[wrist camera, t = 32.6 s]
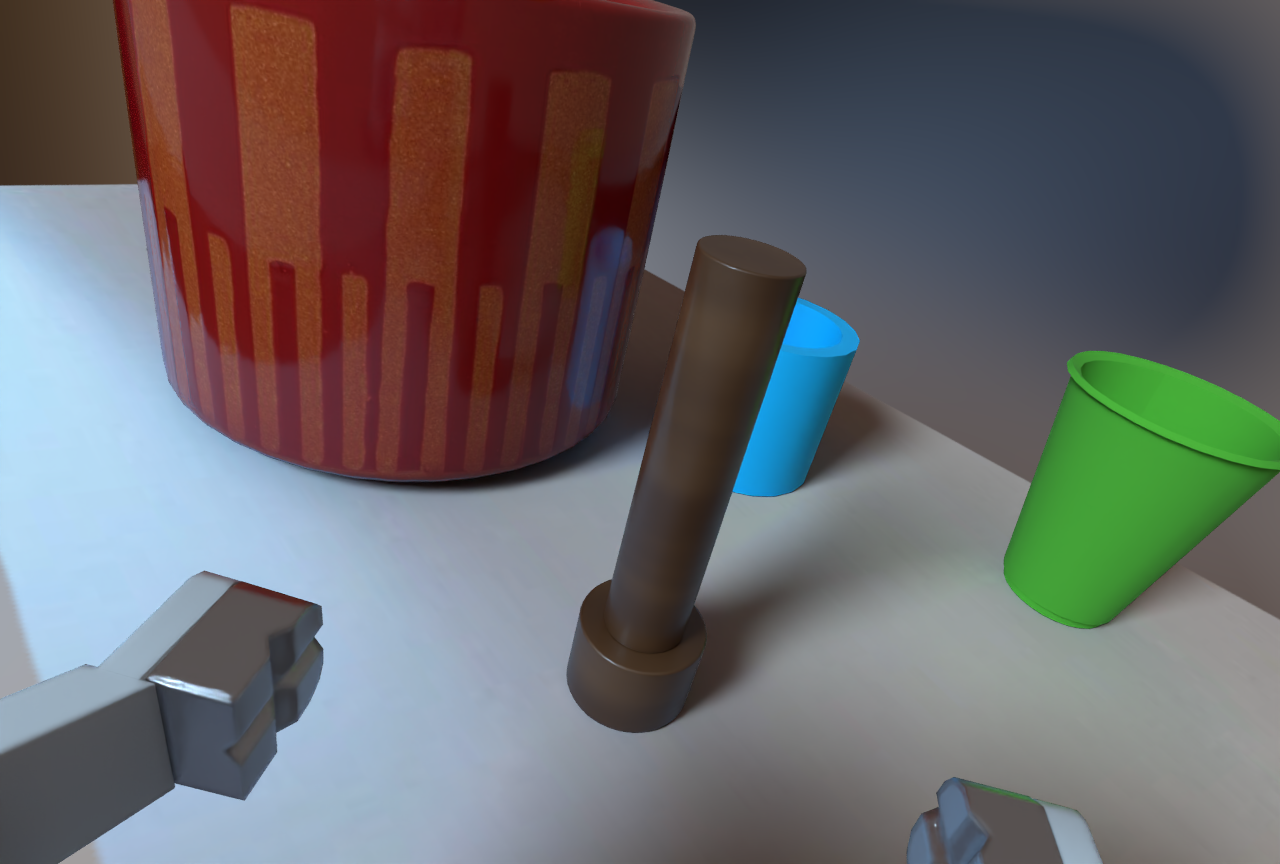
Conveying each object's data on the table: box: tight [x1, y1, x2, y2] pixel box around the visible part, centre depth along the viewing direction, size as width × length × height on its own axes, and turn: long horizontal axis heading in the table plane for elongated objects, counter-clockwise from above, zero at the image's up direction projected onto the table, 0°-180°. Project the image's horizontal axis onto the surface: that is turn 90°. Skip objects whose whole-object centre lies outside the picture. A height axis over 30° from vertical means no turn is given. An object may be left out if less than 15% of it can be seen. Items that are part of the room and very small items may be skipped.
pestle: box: [567, 235, 806, 733], centre depth 23 cm, size 4×4×16 cm
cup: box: [1004, 351, 1280, 629], centre depth 34 cm, size 9×9×11 cm
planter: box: [113, 0, 696, 482], centre depth 36 cm, size 23×23×20 cm
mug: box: [732, 298, 860, 496], centre depth 41 cm, size 12×8×8 cm
